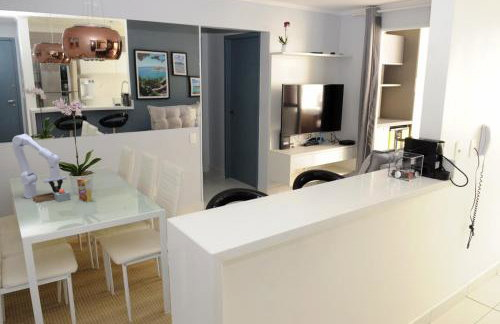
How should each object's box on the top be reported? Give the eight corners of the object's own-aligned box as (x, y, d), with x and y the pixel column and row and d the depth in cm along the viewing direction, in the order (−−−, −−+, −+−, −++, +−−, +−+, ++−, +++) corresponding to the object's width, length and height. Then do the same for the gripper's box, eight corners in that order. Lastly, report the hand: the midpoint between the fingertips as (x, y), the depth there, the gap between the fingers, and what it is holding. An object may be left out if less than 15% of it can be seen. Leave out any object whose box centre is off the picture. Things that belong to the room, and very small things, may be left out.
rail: (33, 200, 269) (32, 196, 268) (61, 194, 282) (61, 190, 282) (36, 203, 264) (36, 198, 263) (65, 197, 277) (65, 193, 276)
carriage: (51, 195, 276) (50, 186, 274) (60, 193, 280) (59, 184, 279) (53, 196, 272) (53, 188, 271) (62, 195, 276) (62, 186, 275)
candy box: (78, 200, 271) (76, 178, 268) (83, 198, 275) (81, 177, 271) (87, 202, 267) (85, 180, 263) (92, 200, 270) (90, 179, 267)
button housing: (54, 200, 270) (54, 193, 269) (66, 197, 276) (66, 190, 275) (58, 202, 266) (57, 195, 265) (70, 199, 272) (69, 192, 271)
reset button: (59, 194, 270) (58, 189, 269) (63, 194, 272) (63, 188, 271) (60, 195, 268) (60, 190, 267) (65, 195, 270) (64, 189, 269)
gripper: (45, 175, 265) (47, 194, 268) (67, 171, 275) (69, 190, 278) (42, 173, 269) (44, 191, 272) (63, 169, 279) (65, 187, 282)
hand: (56, 190), depth 275 cm, fingers closed on carriage, 3 cm apart
